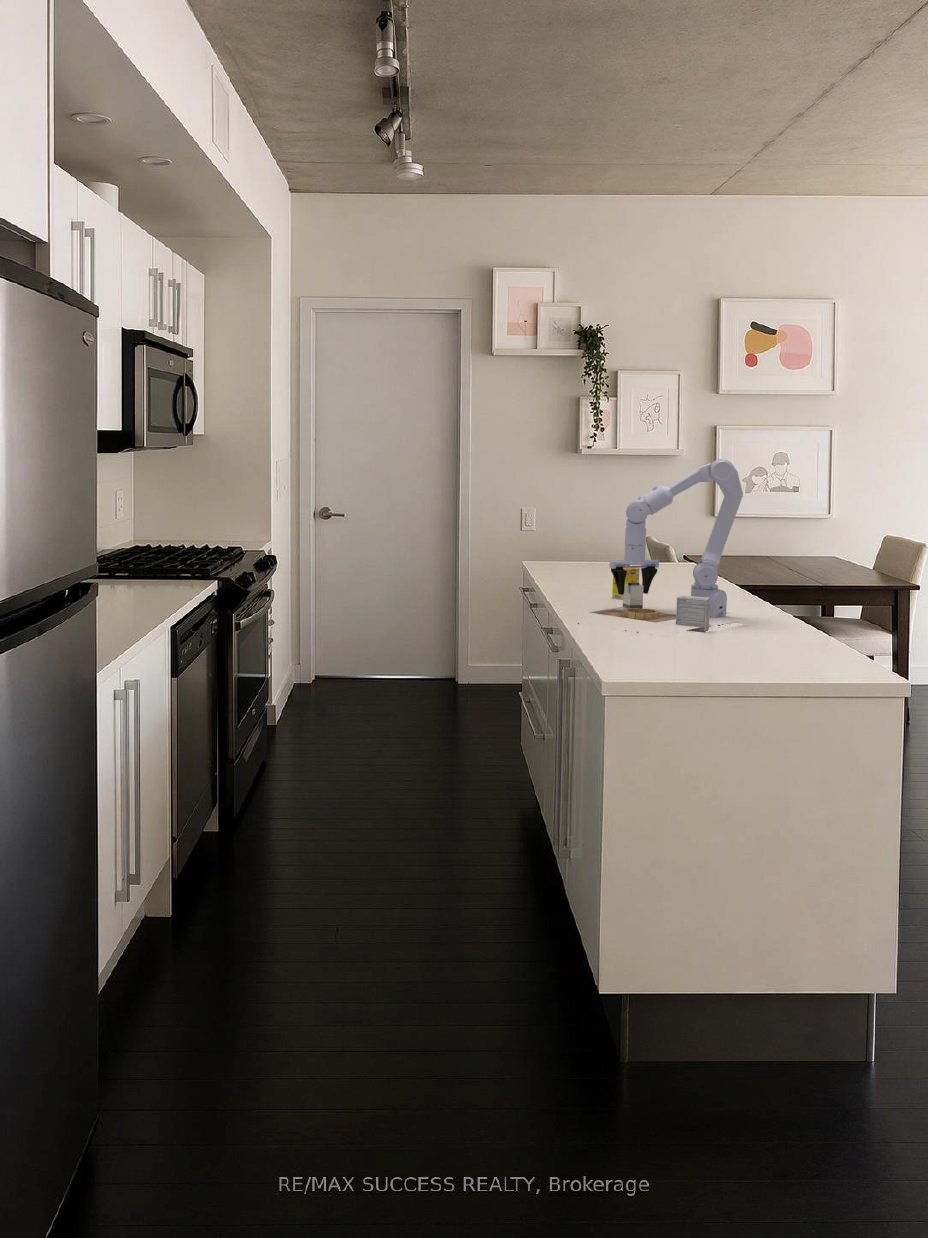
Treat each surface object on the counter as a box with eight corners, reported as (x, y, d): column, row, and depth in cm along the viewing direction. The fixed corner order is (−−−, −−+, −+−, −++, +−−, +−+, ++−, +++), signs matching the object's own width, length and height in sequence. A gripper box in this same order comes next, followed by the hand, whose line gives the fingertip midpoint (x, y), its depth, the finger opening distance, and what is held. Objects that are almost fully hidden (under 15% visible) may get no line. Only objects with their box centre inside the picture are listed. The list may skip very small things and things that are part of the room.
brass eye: (665, 617, 307) (665, 611, 307) (645, 620, 300) (646, 614, 300) (637, 613, 313) (637, 607, 313) (617, 616, 306) (617, 610, 306)
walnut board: (688, 621, 309) (689, 616, 309) (655, 627, 298) (655, 622, 298) (622, 612, 324) (622, 606, 324) (588, 617, 313) (588, 612, 312)
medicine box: (709, 630, 296) (710, 597, 295) (705, 632, 292) (707, 599, 291) (679, 627, 300) (681, 595, 298) (674, 630, 296) (676, 597, 294)
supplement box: (628, 605, 338) (630, 569, 336) (611, 603, 341) (612, 567, 340) (638, 603, 342) (640, 567, 341) (621, 601, 346) (622, 565, 344)
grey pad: (649, 611, 317) (649, 609, 317) (635, 613, 312) (635, 612, 312) (629, 608, 322) (629, 606, 322) (614, 610, 317) (614, 609, 317)
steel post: (635, 608, 319) (636, 581, 318) (642, 610, 316) (643, 583, 315) (622, 608, 318) (623, 582, 317) (629, 610, 314) (630, 583, 313)
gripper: (619, 546, 308) (616, 596, 310) (665, 545, 313) (663, 594, 315) (606, 544, 314) (604, 593, 317) (652, 543, 320) (650, 591, 322)
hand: (633, 593), depth 316 cm, fingers open, 7 cm apart
